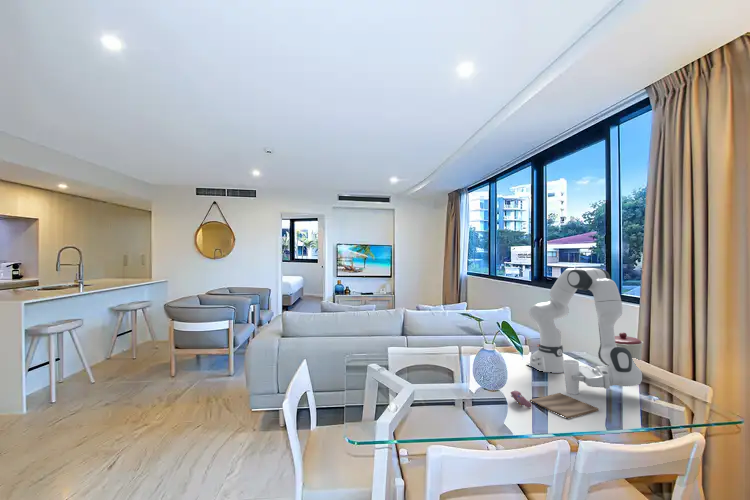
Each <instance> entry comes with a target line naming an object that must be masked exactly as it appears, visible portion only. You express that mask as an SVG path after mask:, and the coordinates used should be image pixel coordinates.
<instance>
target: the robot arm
mask: <svg viewBox="0 0 750 500" xmlns="http://www.w3.org/2000/svg"><path fill="white" fill-rule="evenodd" d="M578 290H579V291H580V290H581V291H588V290H589V292H591V293H592V295H593V300H594V307H595V311H596V314H597V315H596V317H597V322H598V333H599V334H598V335H599V341H600V342H599V343H600V345H599V347H598V352H597V353H598V354H597V355H598V359H599V361H600V362H601V363H602V364H604V365H596V366H594V368H592V367H591V366H588V365H579V376H572V379H573V380H577V381H579V382H583V383H584V384H585V385H586V386H588V387H592V388H604V389H607V390H609V389H610V388H611V387H613V386H619V387H635V386H638V385H641V383H642V381H643V372H642V370H641V368H640V369H639V368H638V367H637V366H636V364H635V363H634V361H633V359H632V355H631V353H630V352H629V351H628V350H627V349H626V348H624V347H619V346H616V343H615V336H616V335H615V329H614V328H615V324H616V322H617V321H618V319H620V318H621V316H622V314H623V304H622V299H621V294H620V291H619V288H618V286H617V284H616V282H615V281H614V280H612V279H611V276H610V273H609V272H608V271H607V270H605V269H602V268H597V267H596V268H595V267H581V268H580V267H579V268H578V267H577V268H573V267H569V268H566V269H564V271H563V272H561V274H560V275H559V276H558V277H557V279H556V281H555V282H554V284H553V286H552V287H551V288H550V290H549V295H550V299H549V300H548V301H544V302H543V301H542V302H537V303H536V304H533V305H532V306H531V305H530V307H529V311H528V313H529V317H530V319H531V320H532V321H534V322H535V324H536V326H537V329H538V331H539V339H540V344H538V345H536V347H537V348H538V350H536V351H535V352H533V353H532V354H531V355H530V357H529V359H530V360H529V361H528V362H530V363H528V362H526V363H527V364H528V365H530V366H532V367H534V368H536V369H537V370H539V371H543V372H542V373H550V372H552V373H553V374H554V373H555V374H557V373H558V374H559V373H560V374H561V373H564V370H563V361H564V360H565V359H564V354H563V353H564V351H563V350H564V347H563V344H562V333H561V332H562V331H561V330H560V329H559V328H557V327H556V325H555V321H558V320H562V319H564V318H566V317H567V316H568V315H569V313H570V308H569V303H570V301H571V300H572V298H573V296H574V295H575V293H576V292H577V291H578ZM537 370H536V371H537ZM539 371H538V372H539ZM552 373H551V374H552Z"/></svg>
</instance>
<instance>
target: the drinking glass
mask: <svg viewBox="0 0 750 500" xmlns="http://www.w3.org/2000/svg"><path fill="white" fill-rule="evenodd" d="M579 366H580V363H579V361H577V360H575V359H574V360H573V359H564V361H563V370H564V372H563V375H564V381H565V390H566V393H567V394H569V395H573V396H575V395H579V393H580V381H577V380H573V379H572V376H579Z"/></svg>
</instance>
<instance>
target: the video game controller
mask: <svg viewBox="0 0 750 500" xmlns="http://www.w3.org/2000/svg"><path fill="white" fill-rule="evenodd" d="M510 397H511V398H513V399H514V400H515V402H516V403H517V402H518V403H517V404H518V405H520V407H523V406H524V407H525V408H528V407H531V408H532V405H533V403H531V402H530V400H527V399H526V397H524V395H522V393H521V392H520V391H518V390H515V389H514V390H512V391H510ZM522 405H523V406H522Z"/></svg>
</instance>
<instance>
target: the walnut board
mask: <svg viewBox="0 0 750 500" xmlns="http://www.w3.org/2000/svg"><path fill="white" fill-rule="evenodd" d="M530 401H532V402H534V403H537V404H538V405H540V406H542V407H544V408H546V409H547V411H548V410H550V411H549V412H551V411H552V412H551V413H553V412H555V413H557V414H559V415H562V416H564V417H566V418H570V419H572V418H571V417H573V418H577V417H580V416H581V417H582V416H584V415H585V416H586V415H588V414H591V413H595V412H600V411H599V410H600V409H599V407H597V406H594V405H591V404H589V403H587V402H584V401H581V400H579V399H577V398H574V397H572V396H569V395H566V394H564V393H561V392H557V393H552V394H549V395H545V396H540V397H536V398H531V399H529V402H530ZM534 403H533V404H534ZM538 405H537V406H538ZM540 406H539V407H540ZM542 407H541V408H542ZM544 408H543V409H544ZM546 409H545V410H546ZM555 413H554V414H555ZM557 414H556V415H557ZM559 415H558V416H559Z"/></svg>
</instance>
